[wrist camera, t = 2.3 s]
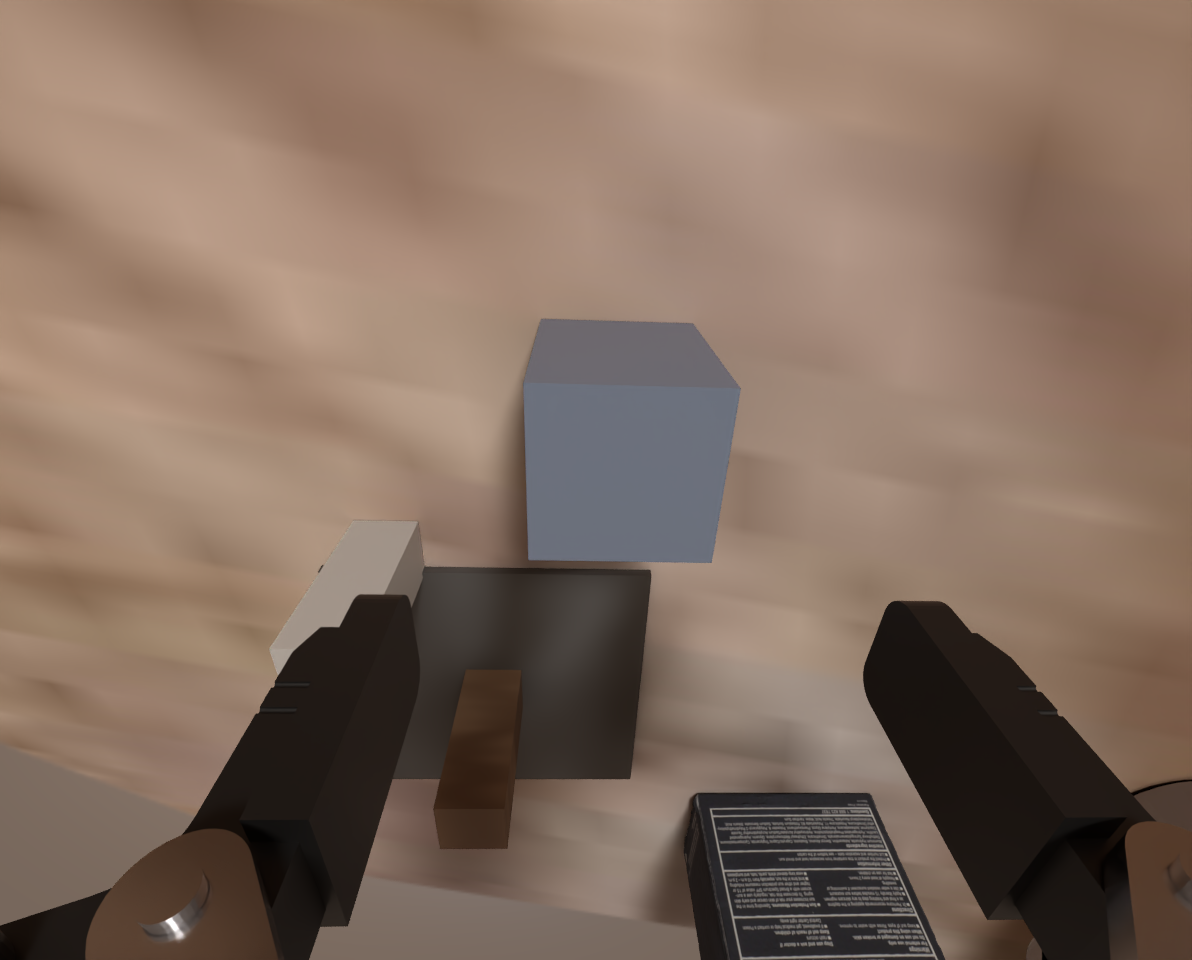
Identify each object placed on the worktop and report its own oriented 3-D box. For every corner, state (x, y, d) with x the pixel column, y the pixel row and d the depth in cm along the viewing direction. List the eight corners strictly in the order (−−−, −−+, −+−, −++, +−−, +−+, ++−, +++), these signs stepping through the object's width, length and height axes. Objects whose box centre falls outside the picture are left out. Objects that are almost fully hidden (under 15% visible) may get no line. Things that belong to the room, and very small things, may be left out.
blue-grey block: (692, 323, 19) (740, 388, 13) (677, 459, 22) (711, 562, 16) (541, 318, 19) (523, 382, 13) (542, 456, 22) (528, 560, 16)
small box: (679, 853, 35) (714, 1094, 26) (692, 789, 32) (737, 1037, 23) (845, 853, 36) (937, 1090, 26) (873, 790, 32) (989, 1034, 23)
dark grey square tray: (650, 570, 24) (673, 704, 18) (629, 772, 31) (641, 919, 25) (322, 565, 24) (231, 701, 18) (373, 771, 31) (321, 922, 24)
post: (418, 521, 23) (358, 649, 17) (425, 572, 24) (371, 709, 18) (353, 520, 23) (269, 648, 17) (363, 571, 24) (289, 708, 18)
